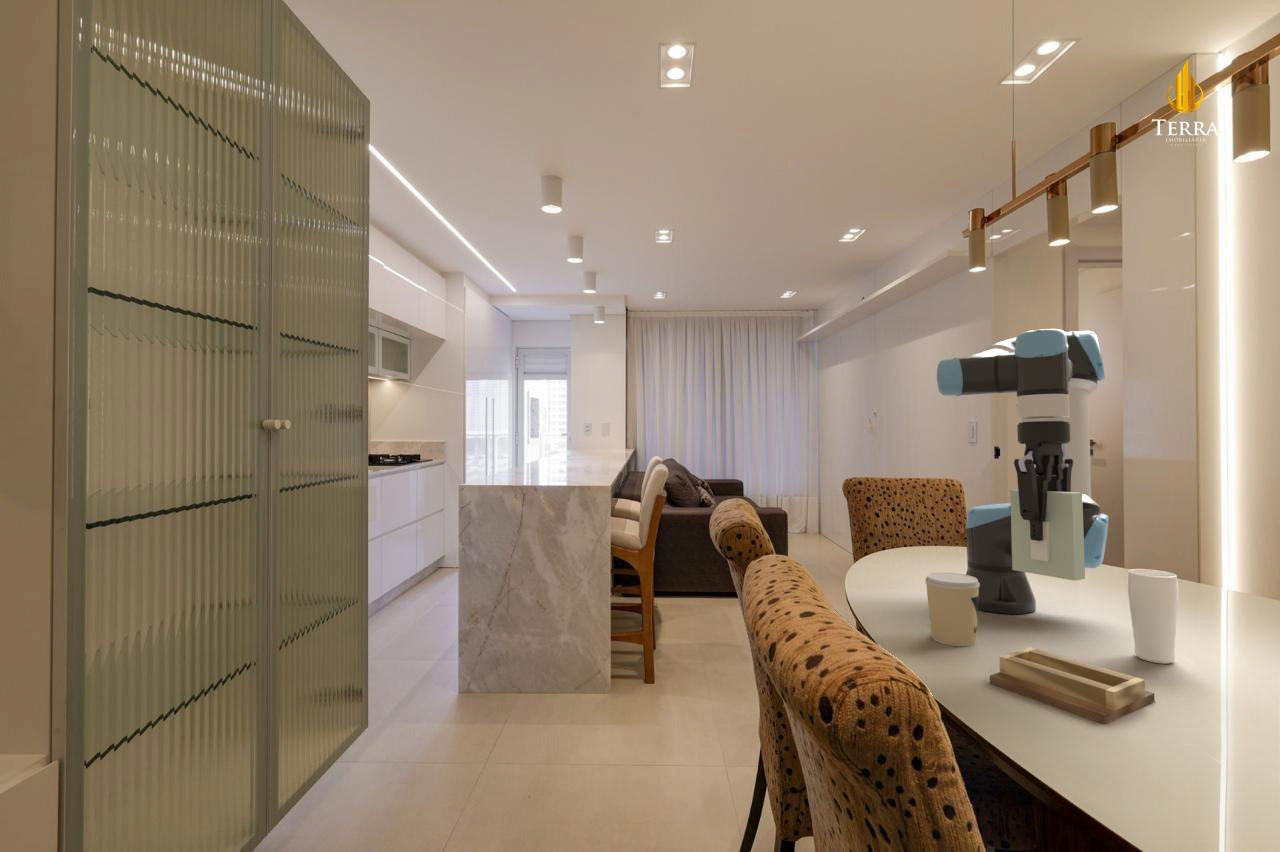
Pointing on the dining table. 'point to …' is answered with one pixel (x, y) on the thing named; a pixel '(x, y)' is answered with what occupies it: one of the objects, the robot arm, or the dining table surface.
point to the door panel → (1052, 537)
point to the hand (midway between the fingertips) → (1046, 558)
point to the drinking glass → (1153, 613)
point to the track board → (1066, 699)
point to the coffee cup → (953, 608)
